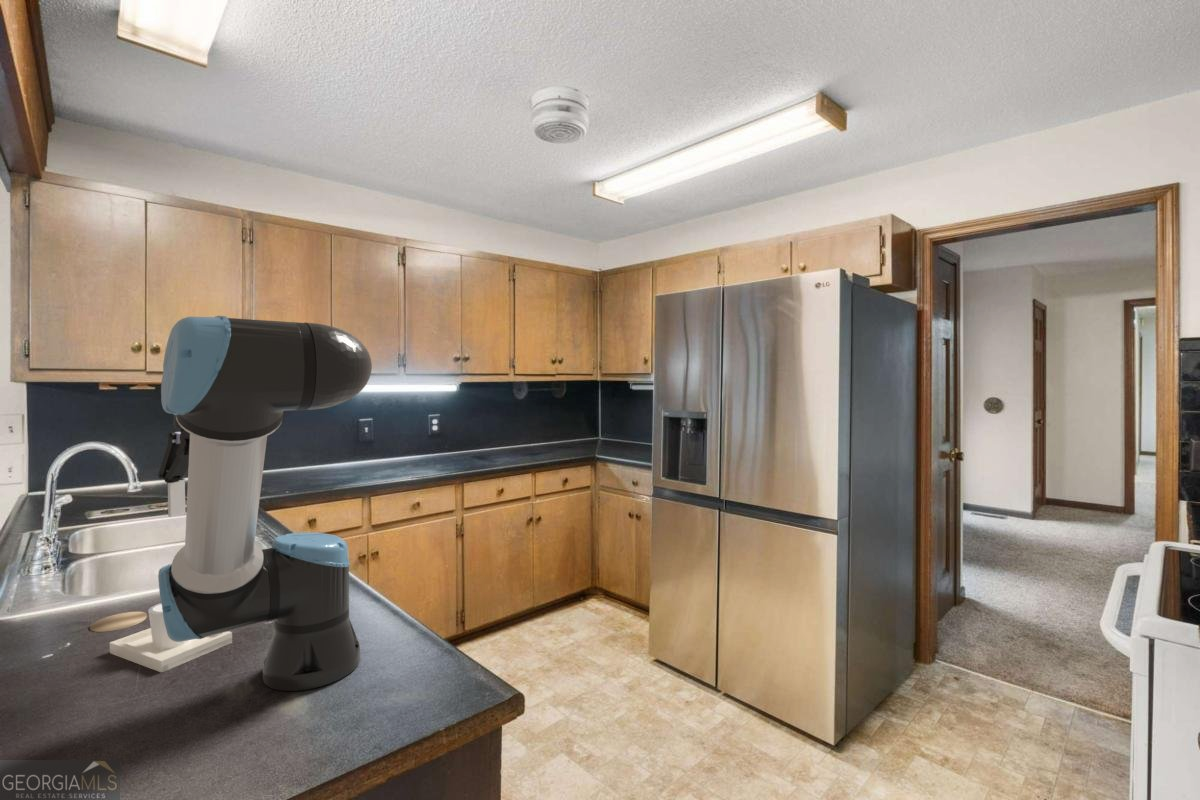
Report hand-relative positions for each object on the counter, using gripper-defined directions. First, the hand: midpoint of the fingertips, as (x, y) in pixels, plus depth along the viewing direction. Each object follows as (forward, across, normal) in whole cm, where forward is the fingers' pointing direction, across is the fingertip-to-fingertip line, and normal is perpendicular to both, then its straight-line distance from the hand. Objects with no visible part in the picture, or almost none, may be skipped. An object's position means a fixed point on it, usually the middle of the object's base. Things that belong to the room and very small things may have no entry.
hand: (200, 518), depth 108 cm
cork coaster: (+24, +23, +1) cm, 33 cm away
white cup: (+23, +2, +5) cm, 23 cm away
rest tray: (+24, +2, +5) cm, 24 cm away
